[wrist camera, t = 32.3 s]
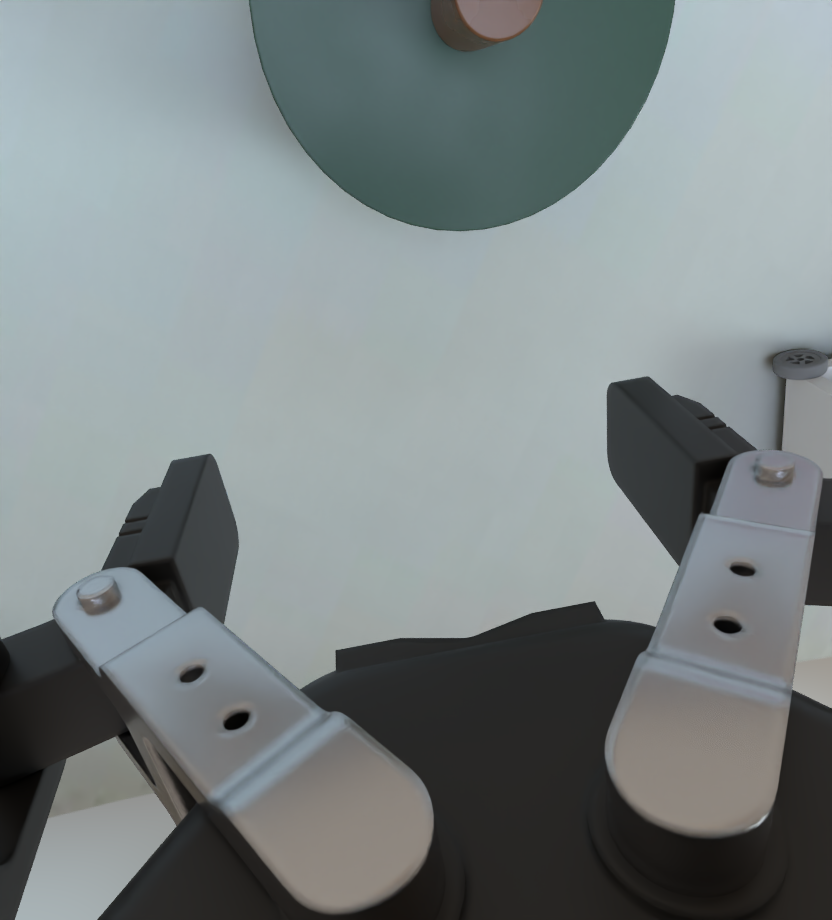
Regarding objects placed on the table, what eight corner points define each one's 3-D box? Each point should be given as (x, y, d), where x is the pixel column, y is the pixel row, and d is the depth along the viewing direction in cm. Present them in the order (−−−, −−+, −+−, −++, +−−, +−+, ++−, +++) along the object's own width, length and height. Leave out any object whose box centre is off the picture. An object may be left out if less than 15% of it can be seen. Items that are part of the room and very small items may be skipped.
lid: (300, 252, 27) (292, 289, 22) (199, -245, 20) (151, -367, 15) (655, 198, 28) (732, 222, 23) (675, -305, 21) (794, -443, 16)
